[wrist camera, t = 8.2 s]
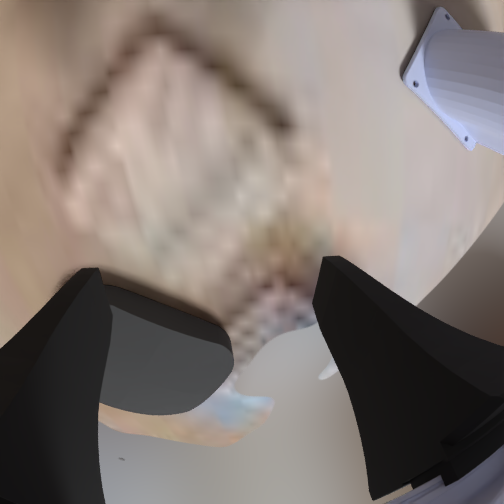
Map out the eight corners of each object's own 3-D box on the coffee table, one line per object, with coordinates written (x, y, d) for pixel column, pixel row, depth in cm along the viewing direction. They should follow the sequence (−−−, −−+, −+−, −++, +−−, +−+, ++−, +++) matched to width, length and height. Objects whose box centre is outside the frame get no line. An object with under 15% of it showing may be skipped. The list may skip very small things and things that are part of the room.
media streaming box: (83, 265, 19) (70, 292, 16) (248, 331, 25) (254, 358, 23) (56, 364, 24) (51, 387, 22) (178, 403, 30) (179, 425, 28)
